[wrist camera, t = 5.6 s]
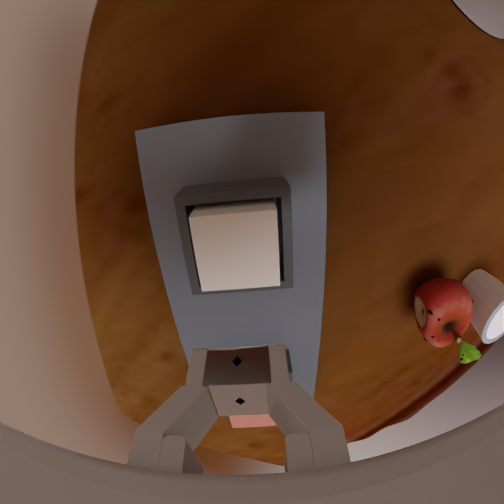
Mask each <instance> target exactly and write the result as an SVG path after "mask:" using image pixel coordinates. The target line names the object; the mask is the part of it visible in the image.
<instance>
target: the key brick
mask: <svg viewBox="0 0 504 504" xmlns="http://www.w3.org/2000/svg"><path fill="white" fill-rule="evenodd" d="M229 417H230V421H231V424H232V428H243V427H262V426H275V425H276V423H275V422H274V421H273V420H272V418H271V417H270V416H269V414H260V415H233V416H229Z"/></svg>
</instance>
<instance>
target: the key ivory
mask: <svg viewBox="0 0 504 504" xmlns="http://www.w3.org/2000/svg"><path fill="white" fill-rule="evenodd" d="M189 223H190V229H191V235H192V241H193V247H194V252H195V258H196V263H197V268H198V274H199V279H200V284H201V289H202V292H204V291H219V290H233V289H247V288H259V287H271V286H280V266H279V242H278V222H277V209H276V206H275V203H274V200H273V198H262V199H249V200H237V201H226V202H216V203H206V204H197V205H195V207H194V209H193V210H192V212H191V214H190V216H189Z"/></svg>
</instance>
